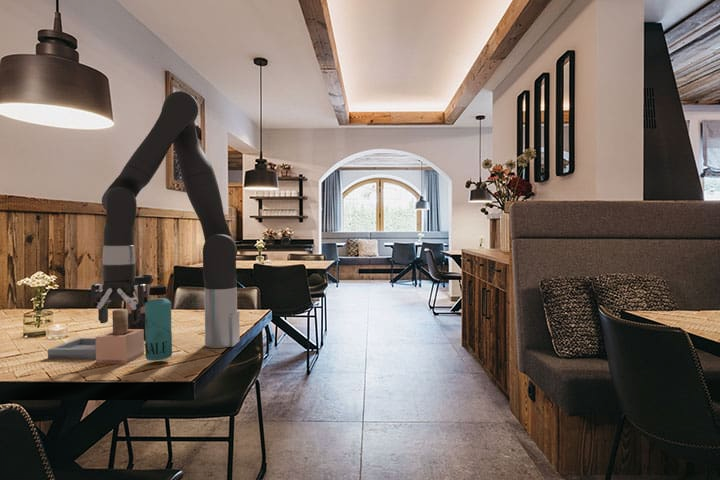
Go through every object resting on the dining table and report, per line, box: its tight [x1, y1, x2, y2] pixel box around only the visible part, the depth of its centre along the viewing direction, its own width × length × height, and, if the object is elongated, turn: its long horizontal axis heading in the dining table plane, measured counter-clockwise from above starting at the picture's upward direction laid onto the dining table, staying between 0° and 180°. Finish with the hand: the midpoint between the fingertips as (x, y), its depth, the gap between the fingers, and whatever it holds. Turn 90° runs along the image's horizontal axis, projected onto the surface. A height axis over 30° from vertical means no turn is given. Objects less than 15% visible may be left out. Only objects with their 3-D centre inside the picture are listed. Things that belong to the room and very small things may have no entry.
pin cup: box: [95, 329, 145, 365], centre depth 107 cm, size 8×8×7 cm
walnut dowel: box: [111, 308, 128, 335], centre depth 107 cm, size 4×4×12 cm
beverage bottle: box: [144, 285, 174, 361], centre depth 104 cm, size 6×7×20 cm
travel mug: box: [125, 274, 154, 341], centre depth 128 cm, size 8×8×20 cm
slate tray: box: [47, 337, 96, 360], centre depth 114 cm, size 14×12×2 cm
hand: (119, 322), depth 107 cm, fingers open, 8 cm apart
